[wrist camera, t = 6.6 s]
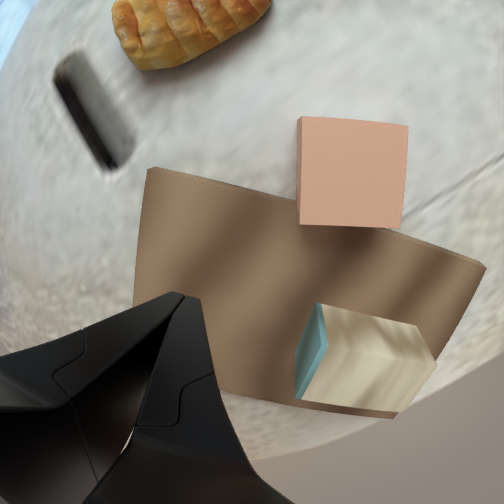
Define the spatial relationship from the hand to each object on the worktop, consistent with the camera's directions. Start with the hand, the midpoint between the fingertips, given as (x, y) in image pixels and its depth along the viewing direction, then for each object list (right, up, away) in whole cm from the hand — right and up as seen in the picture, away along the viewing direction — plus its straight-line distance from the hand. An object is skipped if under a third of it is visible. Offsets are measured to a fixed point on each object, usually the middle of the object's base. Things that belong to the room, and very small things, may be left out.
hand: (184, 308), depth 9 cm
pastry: (-2, +17, +7) cm, 18 cm away
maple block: (+5, -5, +11) cm, 13 cm away
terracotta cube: (+7, +7, +10) cm, 14 cm away
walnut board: (+5, -3, +14) cm, 15 cm away
